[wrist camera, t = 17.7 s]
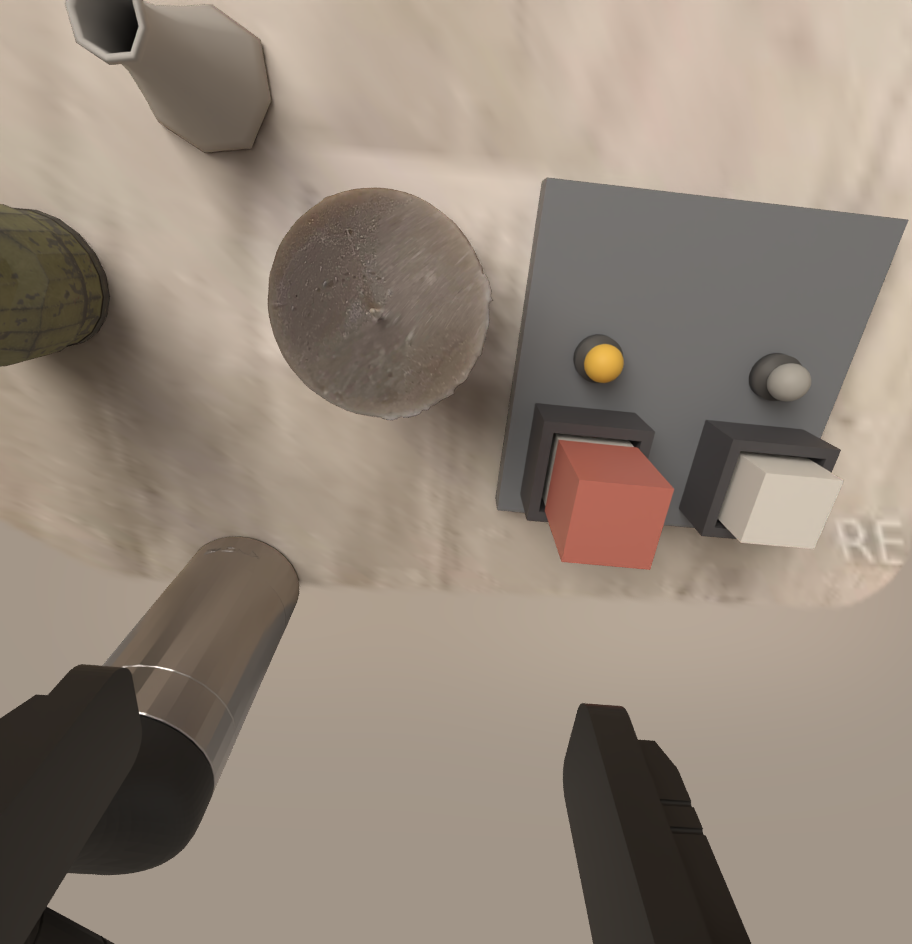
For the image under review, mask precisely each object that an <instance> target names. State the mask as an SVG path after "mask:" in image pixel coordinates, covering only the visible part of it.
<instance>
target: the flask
mask: <svg viewBox="0 0 912 944" xmlns="http://www.w3.org/2000/svg"><path fill="white" fill-rule="evenodd" d="M65 6H66V10H67V13H68V16H69V20H70V23H71V27H72V30H73V33H74V37H75V40H76V43H78V44H79V45H81V46H82V47H84V48H85V49H87V50H88V51H90V52H91V53H93V54H94V55H96V56H97V57H99V58H100V59H102V60H103V61H105V62H106V63H108V64H109V65H116V64H122V65H123V66H124V67H125V68H126V69H127V70H128V71H129V73H130V74H131V76H132V77H133V79H134V81H135V82H136V84H137V85H138V87H139V89H140V90H141V92H142V93H143V95H144V97H145V99H146V100H147V102H148V104H149V106H150V108H151V110H152V112H153V114H154V116H155V117H156V119H157V120H158V122H159V123H161V124H162V125H164V126H165V127H167V128H168V129H170V130H171V131H173V132H174V133H176V134H177V135H179V136H180V137H182V138H183V139H185V140H186V141H188V142H189V143H191V144H192V145H194V146H195V147H197V148H198V149H200V150H201V151H203V152H204V153H205V152H216V151H228V150H239V149H251V148H252V145H253V143H254V141H255V138H256V136H257V133H258V131H259V129H260V126H261V124H262V121H263V119H264V117H265V114H266V112H267V109H268V107H269V105H270V102H271V96H270V91H269V85H268V80H267V74H266V68H265V63H264V57H263V52H262V46H261V40H260V39H259V38H258V37H256V36H255V35H254V34H252V33H251V32H249V31H248V30H247V29H245V28H244V27H243V26H241V25H240V24H238V23H237V22H236V21H234V20H233V19H232V18H230V17H229V16H227V15H226V14H225V13H223V12H222V11H221V10H219V9H218V8H216V7H215V6H214V5H212V4H203V5H189V6H166V5H154V4H151V3H148V2H146V1H143V0H66V1H65Z"/></svg>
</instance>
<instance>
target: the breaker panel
mask: <svg viewBox="0 0 912 944" xmlns="http://www.w3.org/2000/svg"><path fill="white" fill-rule="evenodd" d="M907 222H908V220H906V219H898V218H889V217H881V216H872V215H864V214H855V213H846V212H838V211H829V210H821V209H812V208H804V207H795V206H786V205H778V204H769V203H761V202H752V201H744V200H735V199H726V198H718V197H709V196H701V195H692V194H684V193H675V192H666V191H658V190H649V189H641V188H632V187H624V186H615V185H607V184H598V183H589V182H581V181H572V180H564V179H555V178H546V179H544V180H543V181H542V184H541V191H540V198H539V205H538V212H537V219H536V225H535V232H534V239H533V246H532V253H531V259H530V266H529V273H528V280H527V287H526V293H525V300H524V307H523V314H522V321H521V328H520V334H519V341H518V348H517V355H516V362H515V368H514V375H513V382H512V389H511V396H510V403H509V409H508V416H507V423H506V430H505V437H504V443H503V450H502V457H501V464H500V471H499V478H498V484H497V491H496V498H495V499H496V505H497V510H501V511H512V512H523V513H525V515H526V519H527V520H529V521H540V522H548V519H547V516H546V513H545V507H546V506H545V503H544V500H543V498H542V493H543V487H544V482H545V476H546V471H547V466H548V460H549V455H550V449H551V444H552V439H553V433H560V434H570V435H581V436H591V437H602V438H612V439H622V440H628V441H629V442H630V443H631V444H632V445H633V446H634V447H637V448H638V449H639V450H640V451H641V452H642V453H643V454H644V455H645V456H646V458H647V459H648V460H649V461H650V462H651V463H652V464H653V466H654V467H655V468H656V469H657V470H658V471H659V472H660V473H661V475H662V476H663V477H664V478H665V479H666V480H667V481H668V482H669V484H670V485H671V486H672V487H673V488H674V492H673V495H672V498H671V502H670V505H669V508H668V512H667V515H666V518H665V522H664V525H669V526H680V527H691V528H695V529H696V530H697V531H698V532H699V534H700V535H701V536H709V537H720V538H732V539H737V538H736V537H735V536H734V535H733V534H732V533H731V532H730V531H729V530H728V529H727V528H726V527H725V526H724V525H723V524H722V523H721V522H720V520H719V519H718V516H719V513H720V510H721V507H722V504H723V501H724V498H725V495H726V492H727V490H728V487H729V484H730V481H731V478H732V475H733V472H734V469H735V466H736V463H737V460H738V457H739V454H740V451H747V452H758V453H768V454H778V455H789V456H799V457H807V458H808V459H810V460H812V461H813V462H815V463H816V464H818V465H820V466H821V467H823V468H825V469H826V470H828V471H829V472H832V470H833V468H834V465H835V463H836V461H837V458H838V456H839V453H840V451H841V450H840V449H838V448H837V447H835V446H833V445H831V444H829V443H827V442H825V441H824V440H822V439H821V436H822V434H823V431H824V429H825V426H826V424H827V421H828V419H829V416H830V414H831V411H832V409H833V406H834V404H835V401H836V399H837V396H838V394H839V391H840V389H841V386H842V384H843V381H844V379H845V376H846V374H847V371H848V369H849V366H850V364H851V361H852V359H853V357H854V354H855V352H856V349H857V347H858V344H859V342H860V339H861V337H862V334H863V332H864V329H865V327H866V324H867V322H868V319H869V317H870V314H871V312H872V309H873V307H874V304H875V302H876V299H877V297H878V294H879V292H880V289H881V287H882V284H883V282H884V279H885V277H886V274H887V272H888V270H889V267H890V265H891V262H892V260H893V257H894V255H895V252H896V250H897V247H898V245H899V242H900V240H901V237H902V235H903V232H904V230H905V227H906V225H907Z"/></svg>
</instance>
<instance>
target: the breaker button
mask: <svg viewBox="0 0 912 944" xmlns="http://www.w3.org/2000/svg"><path fill="white" fill-rule="evenodd" d="M843 482H844V480H842V479H841V478H839V477H838V476H836V475H834V474H833V473H831V472H829V471H828V470H826V469H825V468H823V467H821V466H820V465H818V464H816V463H815V462H813V461H812V460H810V459H808V458H807V457H799V456H789V455H778V454H768V453H758V452H747V451H740V454H739V457H738V460H737V463H736V466H735V469H734V472H733V475H732V478H731V481H730V484H729V487H728V490H727V492H726V495H725V498H724V501H723V504H722V507H721V510H720V513H719V516H718V519H719V520H720V522H721V523H722V524H723V525H724V526H725V527H726V528H727V529H728V530H729V531H730V532H731V533H732V534H733V535H734V536H735V537H736V538H737V539H738V541H739V542H740V543H751V544H762V545H773V546H785V547H796V548H807V549H814V548H815V546H816V544H817V541H818V539H819V537H820V535H821V532H822V530H823V528H824V525H825V523H826V521H827V519H828V516H829V514H830V512H831V509H832V507H833V505H834V503H835V500H836V498H837V496H838V493H839V491H840V489H841V486H842V484H843Z"/></svg>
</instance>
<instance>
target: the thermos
mask: <svg viewBox="0 0 912 944" xmlns="http://www.w3.org/2000/svg"><path fill="white" fill-rule="evenodd" d="M109 297H110V296H109V291H108V285H107V280H106V275H105V273H104V270H103V268H102V266H101V264H100V262H99V260H98V258H97V256H96V254H95V252H94V251H93V250H92V249H91V248H90V246H89V245H88V244H87V243H86V242H85V240H84V239H83V238H82V237H81V236H80V234H79V233H77V232H76V231H75V230H73V229H72V228H71V227H69V226H68V225H66V224H65V223H64V222H62V221H61V220H60V219H58V218H56V217H53V216H51V215H48V214H46V213H43V212H41V211H38V210H32V209H19V208H11V207H9V206H6V205H4V204H0V366H8V365H12V364H16V363H19V362H23V361H27V360H30V359H34V358H37V357H41V356H45V355H48V354H52V353H55V352H59V351H61V350H62V349H64V348H65V347H67V346H71V345H75V344H78V343H82V342H85V341H86V340H88V339H89V338H90V337H91V336H93V335H94V334H95V333H97V332H98V331H99V329H100V327H101V325H102V324H103V322H104V320H105V318H106V316H107V311H108V304H109Z"/></svg>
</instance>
